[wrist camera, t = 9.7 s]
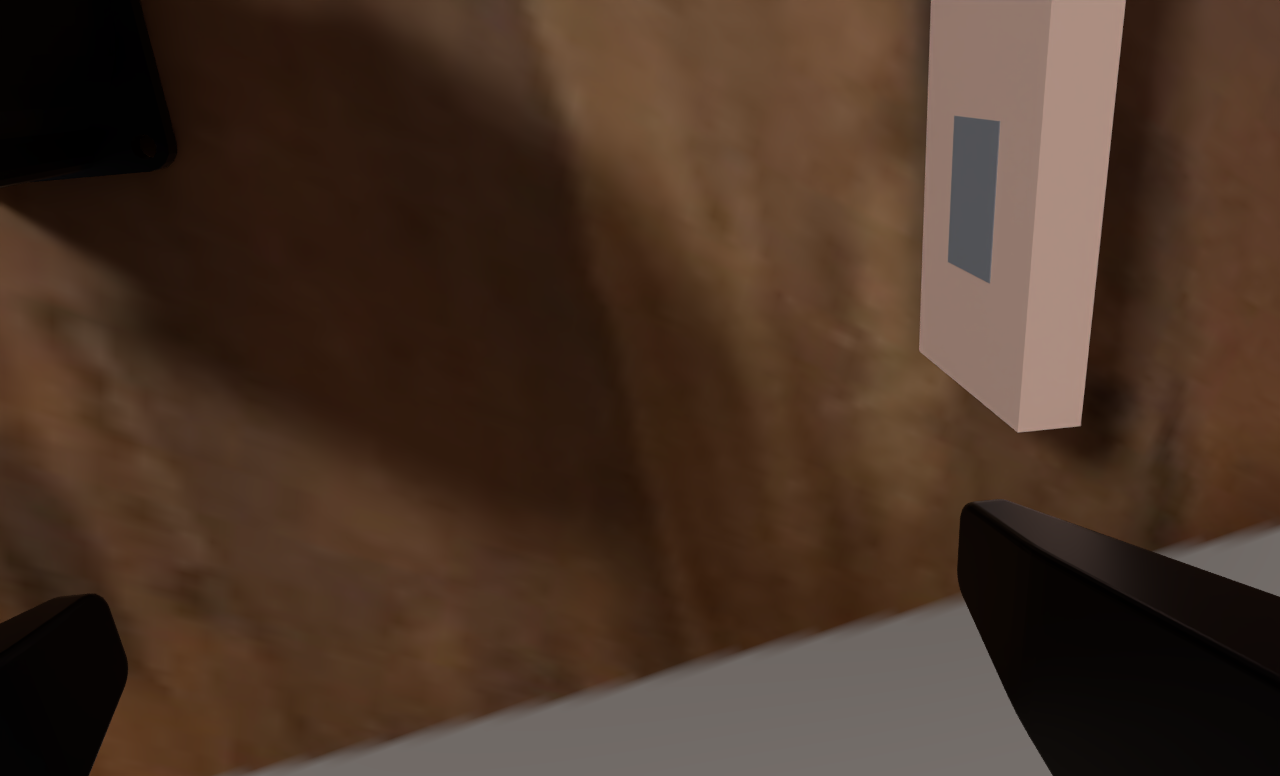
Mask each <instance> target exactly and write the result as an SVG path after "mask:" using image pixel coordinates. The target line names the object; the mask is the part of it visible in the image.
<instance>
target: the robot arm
mask: <svg viewBox="0 0 1280 776" xmlns="http://www.w3.org/2000/svg"><path fill="white" fill-rule="evenodd" d="M143 135H148V136H149V137H150V138H152V139H153V140H154V142H155V144H156V154H155V155H154V157H149V156H148V155H146V154H145V153H144V152H143V151H142V149H141V147H140V139H141V138H142V136H143ZM176 154H177V144H176V140H175V136H174V132H173V128H172V124H171V120H170V116H169V113H168V109H167V105H166V101H165V97H164V93H163V89H162V86H161V82H160V78H159V74H158V70H157V66H156V62H155V58H154V55H153V51H152V47H151V43H150V39H149V35H148V31H147V28H146V24H145V20H144V16H143V12H142V8H141V4H140V1H139V0H0V188H2V187H7V186H12V185H17V184H22V183H27V182H37V181H48V180H59V179H71V178H82V177H93V176H105V175H116V174H127V173H138V172H150V171H154V170H159V169H162V168H165V167H168V166H169V165H170V164H171V163H172V162H173V161H174V159H175V157H176ZM957 575H958V582H959V587H960V590H961V593H962V596H963V598H964V600H965V602H966V605H967V607H968V609H969V611H970V613H971V616H972V618H973V620H974V622H975V624H976V627H977V629H978V631H979V633H980V635H981V637H982V640H983V642H984V644H985V647H986V649H987V651H988V653H989V655H990V658H991V660H992V662H993V664H994V666H995V669H996V671H997V673H998V675H999V677H1000V680H1001V682H1002V684H1003V686H1004V689H1005V691H1006V693H1007V695H1008V697H1009V699H1010V701H1011V703H1012V705H1013V707H1014V709H1015V712H1016V714H1017V715H1018V717H1019V719H1020V721H1021V723H1022V724H1023V726H1024V728H1025V730H1026V731H1027V733H1028V735H1029V737H1030V738H1031V740H1032V741H1033V743H1034V745H1035V746H1036V748H1037V750H1038V752H1039V753H1040V755H1041V757H1042V758H1043V760H1044V762H1045V764H1046V765H1047V767H1048V768H1049V770H1050V772H1051V774H1052V775H1053V776H1280V597H1279V596H1276V595H1273V594H1270V593H1267V592H1264V591H1262V590H1259V589H1256V588H1253V587H1250V586H1247V585H1245V584H1242V583H1239V582H1236V581H1233V580H1231V579H1227V578H1225V577H1222V576H1219V575H1216V574H1214V573H1211V572H1208V571H1205V570H1202V569H1200V568H1197V567H1194V566H1191V565H1188V564H1185V563H1183V562H1180V561H1177V560H1174V559H1171V558H1168V557H1166V556H1163V555H1160V554H1157V553H1154V552H1152V551H1149V550H1146V549H1143V548H1140V547H1137V546H1135V545H1132V544H1129V543H1126V542H1123V541H1120V540H1118V539H1115V538H1112V537H1109V536H1106V535H1104V534H1101V533H1098V532H1095V531H1092V530H1089V529H1087V528H1084V527H1081V526H1078V525H1075V524H1072V523H1070V522H1067V521H1064V520H1061V519H1058V518H1055V517H1053V516H1050V515H1047V514H1044V513H1041V512H1039V511H1036V510H1033V509H1030V508H1027V507H1024V506H1022V505H1019V504H1016V503H1013V502H1010V501H1007V500H1004V499H996V500H986V501H977V502H971V503H967V504H966V505H965V506H964V508H963V509H962V513H961V516H960V529H959V547H958V565H957ZM127 675H128V662H127V657H126V654H125V651H124V648H123V645H122V642H121V640H120V637H119V634H118V631H117V628H116V625H115V622H114V619H113V617H112V614H111V611H110V608H109V606H108V604H107V602H106V601H105V600H104V598H103V597H101V596H99V595H97V594H80V595H70V596H61V597H56V598H53V599H51V600H48V601H46V602H44V603H42V604H40V605H38V606H36V607H34V608H32V609H30V610H28V611H25V612H23V613H21V614H19V615H17V616H15V617H13V618H11V619H9V620H7V621H5V622H3V623H0V776H89V774H90V771H91V769H92V766H93V764H94V761H95V759H96V757H97V754H98V752H99V749H100V747H101V744H102V742H103V739H104V737H105V734H106V732H107V729H108V727H109V724H110V722H111V719H112V717H113V714H114V712H115V709H116V707H117V705H118V702H119V700H120V697H121V695H122V692H123V690H124V687H125V684H126V681H127Z"/></svg>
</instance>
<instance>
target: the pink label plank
mask: <svg viewBox="0 0 1280 776" xmlns="http://www.w3.org/2000/svg"><path fill="white" fill-rule="evenodd" d="M1125 3H1126V0H931V18H930V48H929V77H928V107H927V136H926V165H925V195H924V224H923V253H922V283H921V312H920V342H919V351H920V352H921V353H922V354H923V355H925V356H926V357H927V358H928V359H929V360H931V361H932V362H933V363H934V364H936V365H937V366H938V367H939V368H940V369H942V370H943V371H944V372H945V373H946V374H948V375H949V376H950V377H951V378H952V379H954V380H955V381H956V382H957V383H958V384H960V385H961V386H962V387H963V388H965V389H966V390H967V391H968V392H969V393H971V394H972V395H973V396H974V397H975V398H977V399H978V400H979V401H980V402H981V403H983V404H984V405H985V406H986V407H988V408H989V409H990V410H991V411H992V412H994V413H995V414H996V415H997V416H998V417H1000V418H1001V419H1002V420H1003V421H1004V422H1006V423H1007V424H1008V425H1009V426H1010V427H1012V428H1013V429H1014V430H1015V431H1017V432H1028V431H1038V430H1047V429H1057V428H1067V427H1077V426H1081V418H1082V408H1083V399H1084V389H1085V380H1086V371H1087V361H1088V352H1089V342H1090V333H1091V323H1092V314H1093V305H1094V295H1095V286H1096V276H1097V267H1098V257H1099V248H1100V239H1101V229H1102V220H1103V210H1104V201H1105V191H1106V182H1107V173H1108V163H1109V154H1110V144H1111V135H1112V125H1113V116H1114V107H1115V97H1116V88H1117V78H1118V69H1119V59H1120V50H1121V41H1122V31H1123V22H1124V12H1125Z"/></svg>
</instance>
